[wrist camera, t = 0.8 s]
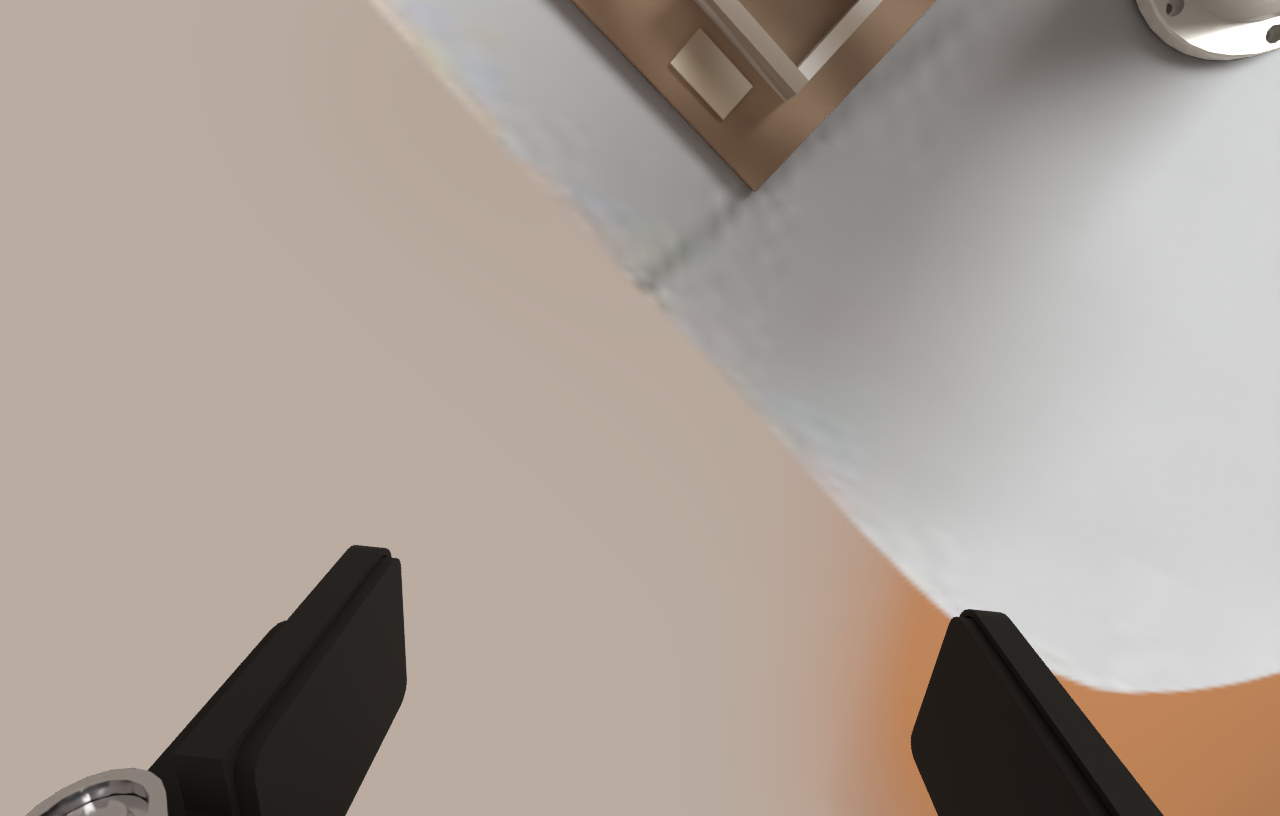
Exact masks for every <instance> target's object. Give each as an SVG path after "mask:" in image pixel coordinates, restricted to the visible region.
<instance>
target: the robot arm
mask: <svg viewBox="0 0 1280 816" xmlns="http://www.w3.org/2000/svg"><path fill="white" fill-rule="evenodd" d="M1136 2H1137V5H1138V8H1139V10H1140V12H1141V14H1142V15H1143V17H1144V19H1145V20H1146V22H1147V23H1148V25H1149V27H1150V28H1151V29H1152V30H1153V31H1154V32H1155V33H1156V34H1157V35H1158V36H1159V37H1160V38H1161V39H1162V40H1163V41H1164V42H1165V43H1166V44H1168V45H1170V46H1171V47H1173V48H1175V49H1177V50H1178V51H1180V52H1182V53H1184V54H1187V55H1190V56H1194V57H1198V58H1201V59H1205V60H1233V59H1239V58H1245V57H1251V56H1255V55H1260V54H1264V53H1268V52H1272V51H1275V50H1278V49H1280V0H1136ZM406 684H407V675H406V656H405V636H404V617H403V598H402V578H401V564H400V560H399V559H397V558H392V557H391V553H390V551H389V550H388V549H387V548H379V547H368V546H359V545H354V546H351V547H350V548H349V549H348V550H347V551H346V552H345V553H344V555H342V557H341V558H340V559H339V560H338V561H337V562H336V564H335V565H334V566H333V567H332V568H331V569H330V571H329V572H328V573H327V574H326V575H325V576H324V578H323V579H322V580H321V581H320V582H319V583H318V585H317V586H316V587H315V588H314V590H313V591H312V592H311V593H310V594H309V595H308V596H307V597H306V599H305V600H304V601H303V602H302V603H301V604H300V606H299V607H298V608H297V609H296V610H295V611H294V613H293V614H292V615H291V616H290V617H289V618H288V620H287V621H283V622H280V623H278V624H277V625H276V626H275V627H273V628H272V629H271V630H270V631H269V632H268V633H267V635H266V636H265V637H264V638H263V639H262V640H261V641H260V643H259V644H258V645H257V646H256V647H255V648H254V649H253V651H252V652H251V653H250V654H249V655H248V656H247V658H246V659H245V660H244V661H243V662H242V663H241V665H239V667H238V668H237V669H236V670H235V671H234V673H232V675H231V676H230V677H229V678H228V679H227V680H226V682H225V683H224V684H223V685H222V686H221V687H220V688H219V690H218V691H217V692H216V693H215V694H214V695H213V696H212V697H211V699H210V700H209V701H208V702H207V703H206V705H204V707H203V708H202V709H201V710H200V711H199V712H198V714H197V715H196V716H195V717H194V718H193V719H192V720H191V721H190V723H189V724H188V725H187V726H186V727H185V728H184V729H183V731H182V732H181V733H180V734H179V735H178V737H176V739H175V740H174V741H173V742H172V743H171V744H170V746H169V747H168V748H167V749H166V750H165V751H164V752H163V754H162V755H161V756H160V757H159V758H158V759H157V760H156V762H155V763H154V764H153V765H152V766H151V767H150V768H149V770H148V771H146V770H141V769H136V768H127V769H115V770H109V771H106V772H102V773H99V774H96V775H92V776H89V777H86V778H84V779H82V780H80V781H77V782H76V783H73V784H71V785H69V786H67V787H65V788H63V789H61V790H59V791H58V792H56V793H55V794H54V795H52V796H50V797H49V798H48V799H46V800H44V801H43V802H41V803H40V804H38V805H37V806H36V807H35V808H34V809H32V810H31V811H30V812H29V813H28V814H27V815H26V816H345V815H346V813H347V811H348V809H349V807H350V805H351V803H352V801H353V799H354V797H355V795H356V793H357V791H358V789H359V787H360V785H361V783H362V781H363V779H364V777H365V775H366V773H367V771H368V769H369V767H370V766H371V763H372V761H373V760H374V757H375V756H376V753H377V752H378V750H379V748H380V745H381V744H382V741H383V739H384V738H385V736H386V734H387V732H388V730H389V728H390V726H391V724H392V721H393V719H394V718H395V716H396V714H397V712H398V710H399V708H400V706H401V703H402V701H403V698H404V695H405V691H406ZM911 749H912V754H913V757H914V760H915V762H916V765H917V767H918V770H919V772H920V774H921V777H922V779H923V781H924V783H925V786H926V788H927V791H928V793H929V795H930V798H931V800H932V802H933V805H934V807H935V809H936V812H937V814H938V816H1163V814H1162V813H1161V812H1160V811H1159V809H1158V808H1157V807H1156V806H1155V804H1154V803H1153V802H1152V800H1151V799H1150V798H1149V796H1148V795H1147V794H1146V793H1145V791H1144V790H1143V789H1142V787H1141V786H1140V785H1139V784H1138V782H1137V781H1136V780H1135V779H1134V777H1133V776H1132V775H1131V773H1130V772H1129V771H1128V770H1127V768H1126V767H1125V766H1124V764H1123V763H1122V762H1121V761H1120V759H1119V758H1118V757H1117V755H1116V754H1115V753H1114V752H1113V750H1112V749H1111V748H1110V747H1109V745H1108V744H1107V743H1106V742H1105V740H1104V739H1103V738H1102V736H1101V735H1100V734H1099V732H1097V730H1096V729H1095V727H1094V726H1093V725H1092V723H1091V722H1090V721H1089V720H1088V718H1087V717H1086V716H1085V715H1084V713H1083V712H1082V711H1081V709H1080V708H1079V707H1078V706H1077V704H1076V703H1075V702H1074V700H1073V699H1072V698H1071V697H1070V696H1069V694H1068V693H1067V691H1066V690H1065V689H1064V688H1063V686H1062V685H1061V684H1060V683H1059V681H1058V680H1057V679H1056V677H1055V676H1054V675H1053V674H1052V672H1051V671H1050V670H1049V668H1048V667H1047V666H1046V665H1045V663H1044V662H1043V661H1042V659H1041V658H1040V657H1039V656H1038V654H1037V653H1036V652H1035V651H1034V649H1033V648H1032V647H1031V645H1030V644H1029V643H1028V642H1027V640H1026V639H1025V638H1024V636H1023V635H1022V634H1021V633H1020V631H1019V630H1018V629H1017V627H1016V626H1015V625H1014V624H1013V622H1012V621H1011V620H1010V619H1009V618H1008V617H1007V616H1006V615H1005V614H1003V613H1000V612H991V611H981V610H972V609H967V610H964V611H963V612H962V613H961V615H960V617H954V618H953V619H951V621H950V623H949V626H948V629H947V632H946V635H945V637H944V640H943V643H942V646H941V649H940V652H939V655H938V658H937V661H936V664H935V667H934V670H933V673H932V676H931V679H930V681H929V684H928V688H927V690H926V693H925V696H924V699H923V702H922V705H921V708H920V711H919V714H918V717H917V720H916V723H915V726H914V729H913V732H912V735H911Z"/></svg>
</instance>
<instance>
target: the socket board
mask: <svg viewBox="0 0 1280 816" xmlns="http://www.w3.org/2000/svg"><path fill="white" fill-rule="evenodd" d="M571 1H572V2H573V3H574V4H575V5H576V6H577V7H578V8H579V9H580V10H581V11H582V12H583V13H584V14H585V15H586V16H587V17H588V19H589V20H590V21H591V22H592V23H593V24H594V25H595V26H596V27H597V28H598V29H599V30H600V31H601V32H602V33H603V34H604V35H605V36H606V37H607V38H608V40H609V41H610V42H611V43H612V44H613V45H614V46H615V47H616V48H617V49H618V50H619V51H620V52H621V53H622V54H623V55H624V56H625V57H626V58H627V59H628V60H629V62H630V63H631V64H632V65H633V66H634V67H635V68H636V69H637V70H638V71H639V72H640V73H641V74H642V75H643V76H644V77H645V78H646V79H647V80H648V81H649V83H650V84H651V85H652V86H653V87H654V88H655V89H656V90H657V91H658V92H659V93H660V94H661V95H662V96H663V97H664V98H665V99H666V100H667V101H668V102H669V103H670V105H671V106H672V107H673V108H674V109H675V110H676V111H677V112H678V113H679V114H680V115H681V116H682V117H683V118H684V119H685V120H686V121H687V122H688V123H689V124H690V126H691V127H692V128H693V129H694V130H695V131H696V132H697V133H698V134H699V135H700V136H701V137H702V138H703V139H704V140H705V141H706V142H707V143H708V144H709V145H710V147H711V148H712V149H713V150H714V151H715V152H716V153H717V154H718V155H719V156H720V157H721V158H722V159H723V160H724V161H725V162H726V163H727V164H728V165H729V166H730V167H731V169H732V170H733V171H734V172H735V173H736V174H737V175H738V176H739V177H740V178H741V179H742V180H743V181H744V182H745V183H746V184H747V185H748V186H749V187H750V188H751V190H752V191H757V190H758V189H759V188H760V187H761V185H762V184H763V183H764V182H765V181H766V180H767V179H768V178H769V177H770V176H771V175H772V174H773V173H774V172H775V171H776V170H777V169H778V167H779V166H780V165H781V164H782V163H783V162H784V161H785V160H786V159H787V158H788V157H789V156H790V155H791V154H792V153H793V152H794V151H795V149H796V148H797V147H798V146H799V145H800V144H801V143H802V142H803V141H804V140H805V139H806V138H807V137H808V136H809V135H810V134H811V133H812V132H813V130H814V129H815V128H816V127H817V126H818V125H819V124H820V123H821V122H822V121H823V120H824V119H825V118H826V117H827V116H828V115H829V114H830V112H831V111H832V110H833V109H834V108H835V107H836V106H837V105H838V104H839V103H840V102H841V101H842V100H843V99H844V98H845V97H846V96H847V94H848V93H849V92H850V91H851V90H852V89H853V88H854V87H855V86H856V85H857V84H858V83H859V82H860V81H861V80H862V79H863V78H864V76H865V75H866V74H867V73H868V72H869V71H870V70H871V69H872V68H873V67H874V66H875V65H876V64H877V63H878V62H879V61H880V60H881V58H882V57H883V56H884V55H885V54H886V53H887V52H888V51H889V50H890V49H891V48H892V47H893V46H894V45H895V44H896V43H897V42H898V41H899V39H900V38H901V37H902V36H903V35H904V34H905V33H906V32H907V31H908V30H909V29H910V28H911V27H912V26H913V25H914V24H915V23H916V21H917V20H918V19H919V18H920V17H921V16H922V15H923V14H924V13H925V12H926V11H927V10H928V9H929V8H930V7H931V6H932V5H933V3H934V2H935V1H936V0H571Z"/></svg>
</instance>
